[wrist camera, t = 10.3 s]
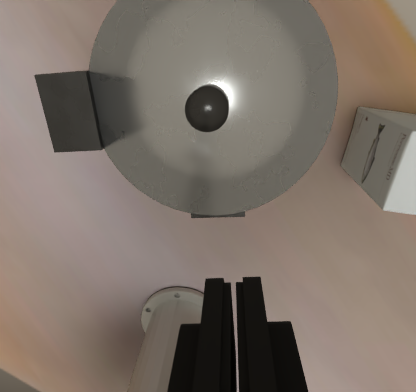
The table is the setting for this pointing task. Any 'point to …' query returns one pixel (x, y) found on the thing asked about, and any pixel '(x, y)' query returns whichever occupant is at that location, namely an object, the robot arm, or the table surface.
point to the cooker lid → (201, 99)
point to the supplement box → (384, 157)
